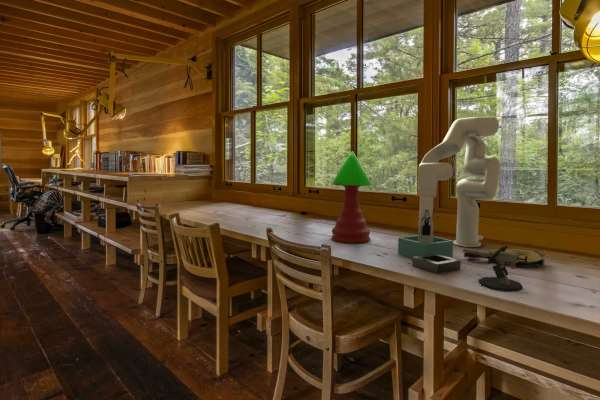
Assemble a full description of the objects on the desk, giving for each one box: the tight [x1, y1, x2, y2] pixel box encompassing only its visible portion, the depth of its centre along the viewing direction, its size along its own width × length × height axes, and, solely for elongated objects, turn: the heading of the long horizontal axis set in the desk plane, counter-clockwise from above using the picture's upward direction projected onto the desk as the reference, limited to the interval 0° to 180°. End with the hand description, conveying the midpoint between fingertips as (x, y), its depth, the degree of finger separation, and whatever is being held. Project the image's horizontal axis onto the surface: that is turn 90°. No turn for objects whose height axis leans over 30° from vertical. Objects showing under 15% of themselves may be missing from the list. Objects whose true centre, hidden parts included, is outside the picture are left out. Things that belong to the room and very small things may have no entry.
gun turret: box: [462, 245, 527, 293], centre depth 126 cm, size 13×20×13 cm, turn 41°
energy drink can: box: [417, 219, 434, 244], centre depth 164 cm, size 6×6×15 cm
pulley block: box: [463, 248, 552, 269], centre depth 153 cm, size 14×6×30 cm
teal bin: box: [397, 234, 454, 259], centre depth 164 cm, size 16×16×7 cm
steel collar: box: [412, 254, 462, 275], centre depth 145 cm, size 12×12×4 cm
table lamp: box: [330, 150, 372, 244], centre depth 195 cm, size 20×20×45 cm
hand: (425, 233), depth 163 cm, fingers open, 9 cm apart
